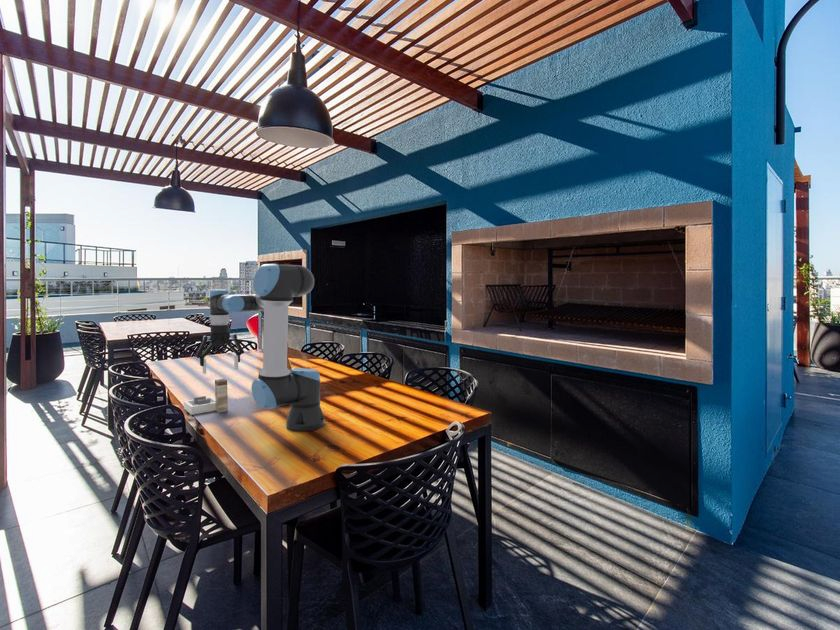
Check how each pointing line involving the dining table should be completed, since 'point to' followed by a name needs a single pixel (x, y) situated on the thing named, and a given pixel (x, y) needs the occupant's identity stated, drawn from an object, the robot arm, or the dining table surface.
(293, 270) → the robot arm
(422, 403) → the dining table surface
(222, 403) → the wood grain beam
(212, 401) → the white square frame
